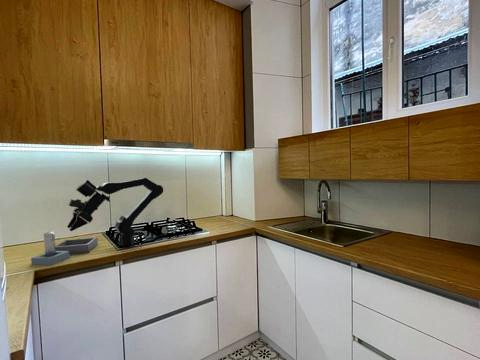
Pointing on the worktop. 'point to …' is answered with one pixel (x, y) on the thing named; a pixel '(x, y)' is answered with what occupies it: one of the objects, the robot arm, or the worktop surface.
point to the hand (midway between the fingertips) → (69, 229)
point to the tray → (77, 245)
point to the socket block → (50, 258)
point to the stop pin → (49, 244)
